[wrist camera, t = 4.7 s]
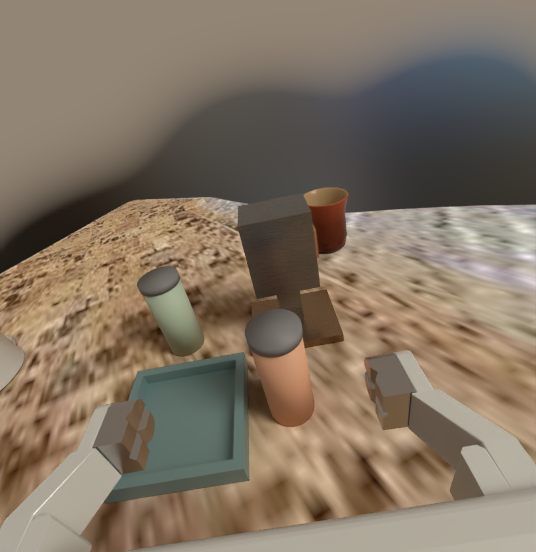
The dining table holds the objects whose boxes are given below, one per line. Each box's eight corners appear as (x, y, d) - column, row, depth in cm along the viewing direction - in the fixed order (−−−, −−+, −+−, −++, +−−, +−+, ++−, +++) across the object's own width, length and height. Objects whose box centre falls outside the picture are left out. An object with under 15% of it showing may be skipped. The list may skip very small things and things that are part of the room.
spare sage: (167, 359, 45) (131, 293, 38) (174, 334, 49) (143, 270, 42) (203, 353, 44) (173, 285, 38) (206, 328, 49) (180, 263, 42)
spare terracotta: (270, 431, 33) (245, 354, 27) (267, 389, 38) (245, 314, 31) (319, 423, 33) (305, 343, 26) (310, 381, 37) (297, 304, 31)
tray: (107, 503, 30) (95, 493, 29) (145, 382, 42) (137, 371, 41) (249, 480, 30) (243, 468, 28) (247, 364, 41) (243, 352, 40)
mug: (351, 255, 58) (349, 203, 52) (304, 258, 60) (297, 208, 54) (348, 226, 68) (346, 179, 62) (308, 230, 70) (302, 184, 64)
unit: (254, 356, 42) (218, 238, 32) (252, 309, 50) (223, 203, 40) (343, 340, 41) (334, 215, 32) (327, 295, 50) (315, 184, 40)
